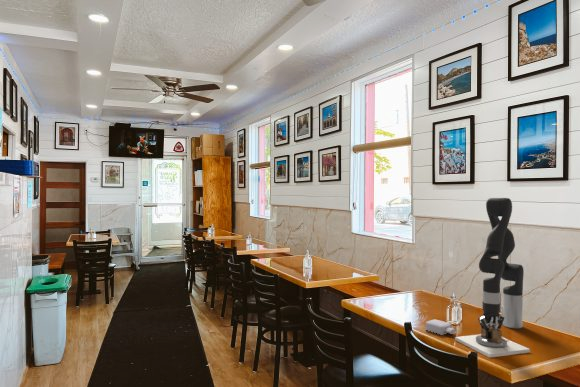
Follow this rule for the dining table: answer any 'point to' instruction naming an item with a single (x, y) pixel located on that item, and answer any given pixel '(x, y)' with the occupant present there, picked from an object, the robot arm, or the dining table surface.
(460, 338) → the dial plate
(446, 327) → the grey elongated piece
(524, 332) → the dining table surface
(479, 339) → the dial
